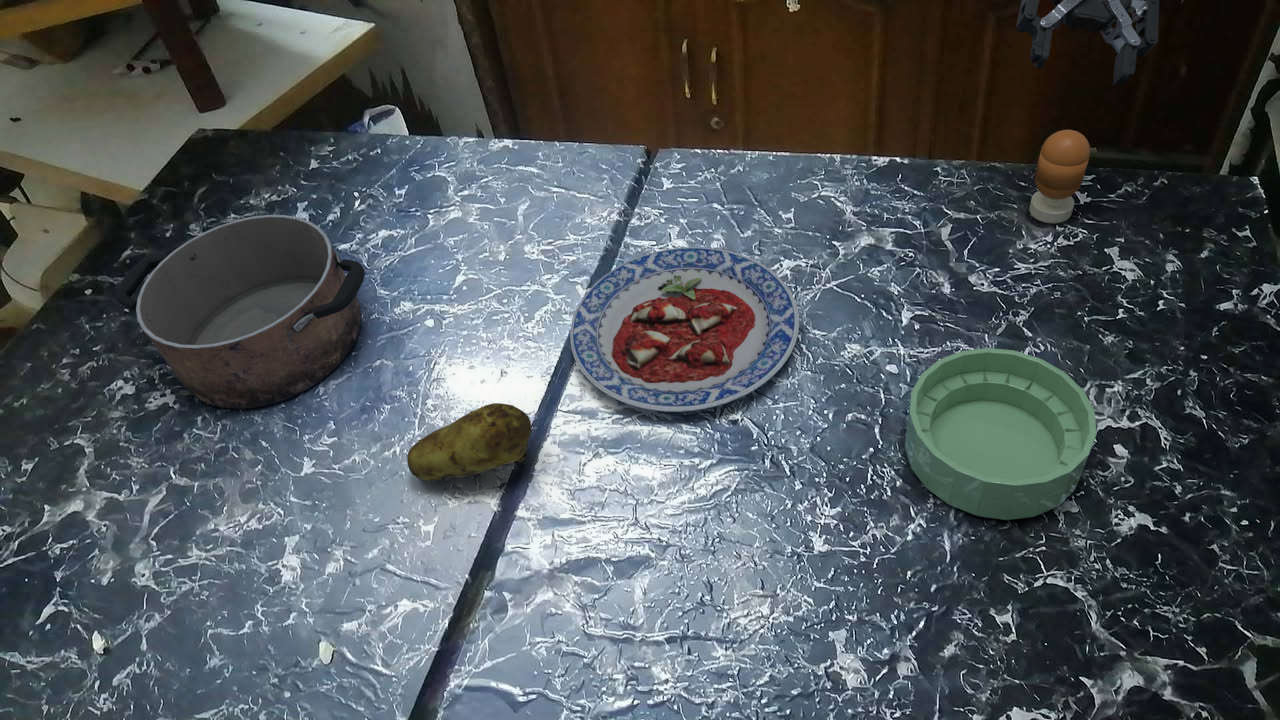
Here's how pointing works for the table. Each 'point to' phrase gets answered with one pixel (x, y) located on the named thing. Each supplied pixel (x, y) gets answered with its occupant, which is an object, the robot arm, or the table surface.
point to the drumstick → (1059, 175)
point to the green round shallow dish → (998, 433)
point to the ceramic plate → (684, 329)
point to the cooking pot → (249, 309)
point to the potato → (472, 444)
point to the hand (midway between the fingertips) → (1081, 73)
